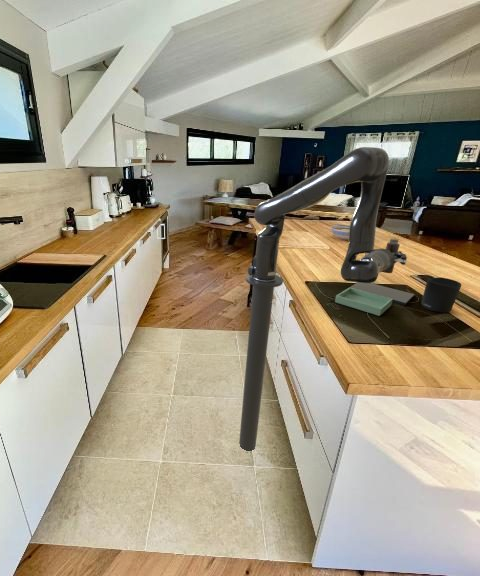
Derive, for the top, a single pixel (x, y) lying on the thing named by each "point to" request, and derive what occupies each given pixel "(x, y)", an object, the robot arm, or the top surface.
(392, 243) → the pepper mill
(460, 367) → the top surface
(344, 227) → the ramen bowl
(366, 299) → the tray
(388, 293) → the slate board
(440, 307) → the pen holder
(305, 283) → the top surface
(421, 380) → the top surface
